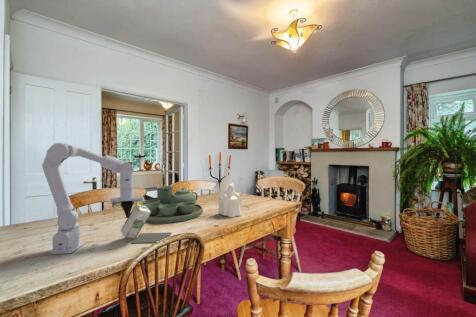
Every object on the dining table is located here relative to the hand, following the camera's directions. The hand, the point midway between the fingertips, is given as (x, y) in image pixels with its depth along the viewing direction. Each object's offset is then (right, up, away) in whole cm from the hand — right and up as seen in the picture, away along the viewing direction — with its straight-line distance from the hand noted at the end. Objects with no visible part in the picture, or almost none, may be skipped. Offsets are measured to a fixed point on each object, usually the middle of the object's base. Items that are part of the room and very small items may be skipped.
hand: (128, 217), depth 108 cm
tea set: (+8, -9, +43) cm, 45 cm away
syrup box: (0, -8, 0) cm, 8 cm away
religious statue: (+48, -9, +43) cm, 65 cm away
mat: (+11, -10, +1) cm, 15 cm away
